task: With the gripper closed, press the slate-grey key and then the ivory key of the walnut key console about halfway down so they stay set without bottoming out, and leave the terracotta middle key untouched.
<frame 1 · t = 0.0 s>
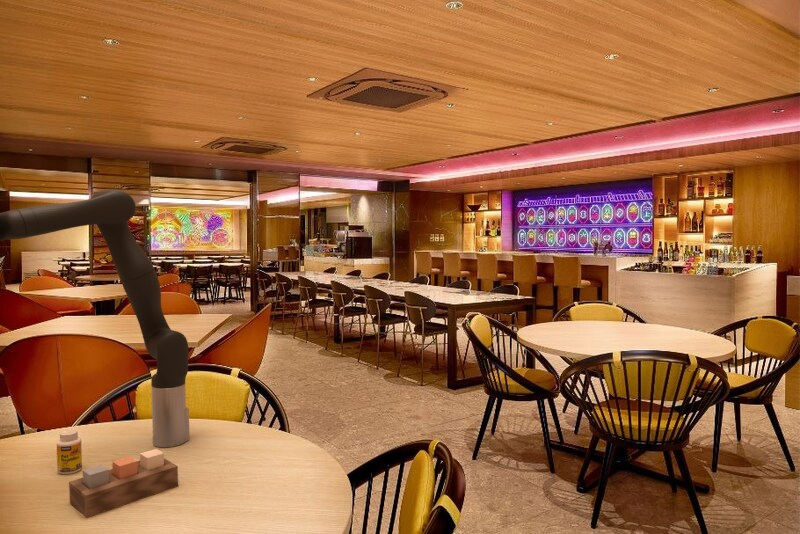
terracotta key: (124, 469, 137), point 6 cm above the table, slide at 0.0 cm
slate key: (95, 478, 133), point 6 cm above the table, slide at 0.0 cm
ivory key: (152, 461, 142), point 6 cm above the table, slide at 0.0 cm
console: (125, 494, 138), on the table
supplement bottle: (70, 471, 151), on the table
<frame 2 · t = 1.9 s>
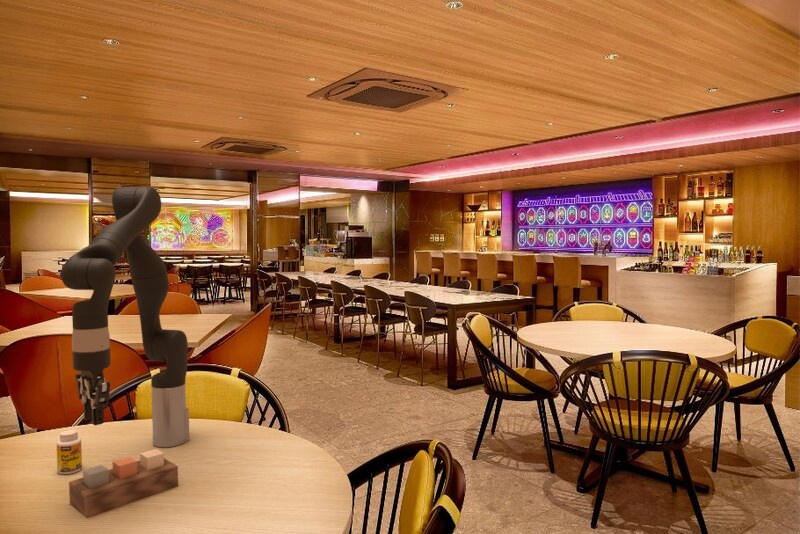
hand: (93, 421, 132), 19 cm above the table, fingers open, 4 cm apart
nothing on the table moved.
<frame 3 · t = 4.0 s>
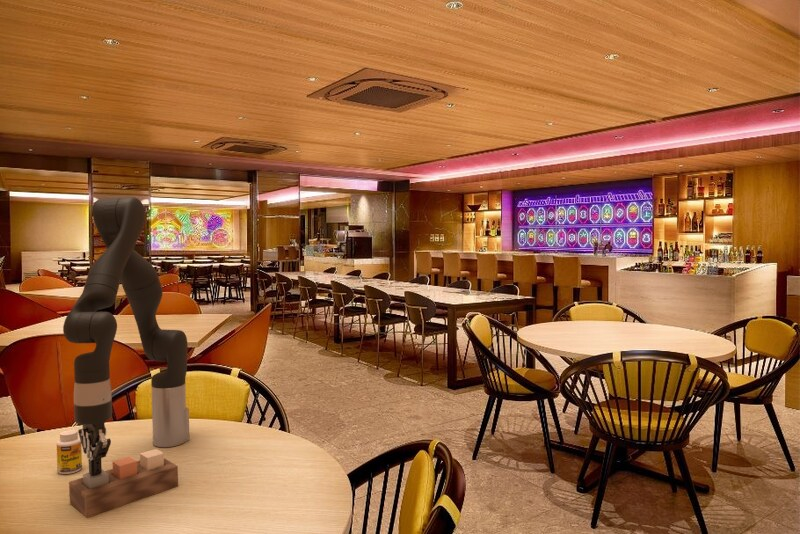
hand: (95, 474, 132), 7 cm above the table, fingers closed
slate key: (96, 482, 133), point 5 cm above the table, slide at 1.0 cm, touching gripper
everything else where it was.
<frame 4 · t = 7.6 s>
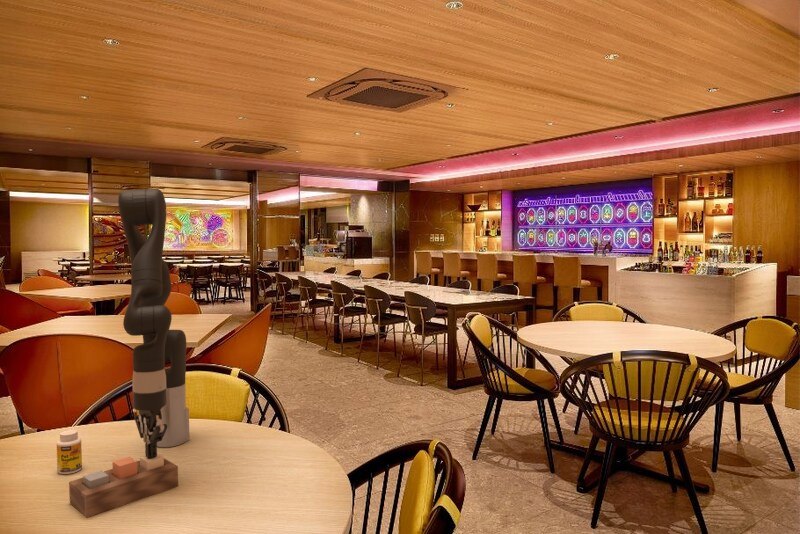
hand: (151, 457, 142), 7 cm above the table, fingers closed
slate key: (96, 484, 133), point 5 cm above the table, slide at 1.4 cm
ivory key: (152, 465, 142), point 5 cm above the table, slide at 1.0 cm, touching gripper
everything else where it was.
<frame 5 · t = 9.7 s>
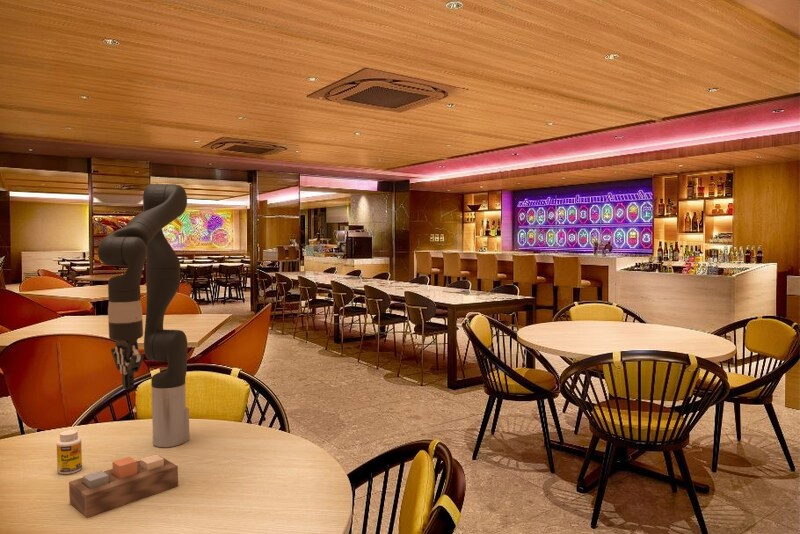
hand: (128, 388, 143), 24 cm above the table, fingers closed
ivory key: (152, 466, 142), point 5 cm above the table, slide at 1.4 cm
everything else where it was.
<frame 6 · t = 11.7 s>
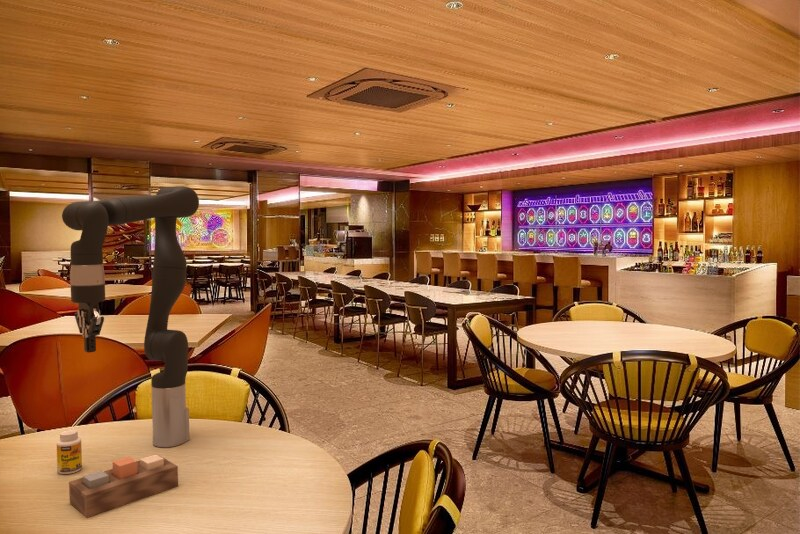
hand: (90, 351, 145), 32 cm above the table, fingers closed
nothing on the table moved.
at the end: slate key slide at 1.4 cm; ivory key slide at 1.4 cm; terracotta key slide at 0.0 cm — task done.
